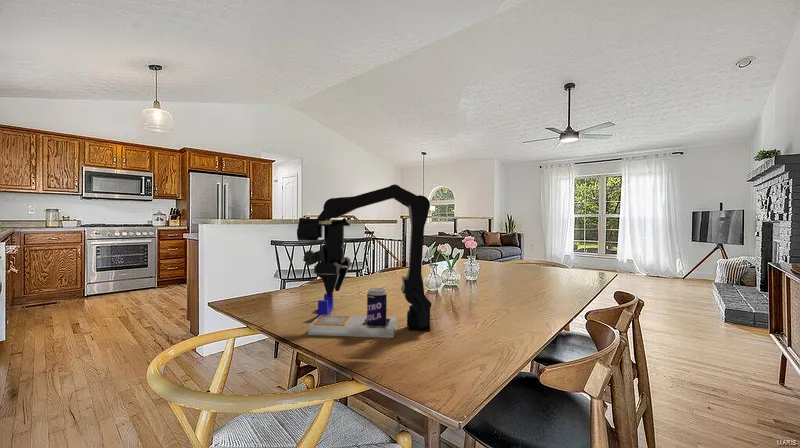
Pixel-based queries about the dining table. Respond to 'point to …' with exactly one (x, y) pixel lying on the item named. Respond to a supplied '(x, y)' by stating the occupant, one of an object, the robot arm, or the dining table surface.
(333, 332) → the grey rectangular slab
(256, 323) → the dining table surface
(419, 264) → the robot arm
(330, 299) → the cable clip
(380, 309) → the beverage can
